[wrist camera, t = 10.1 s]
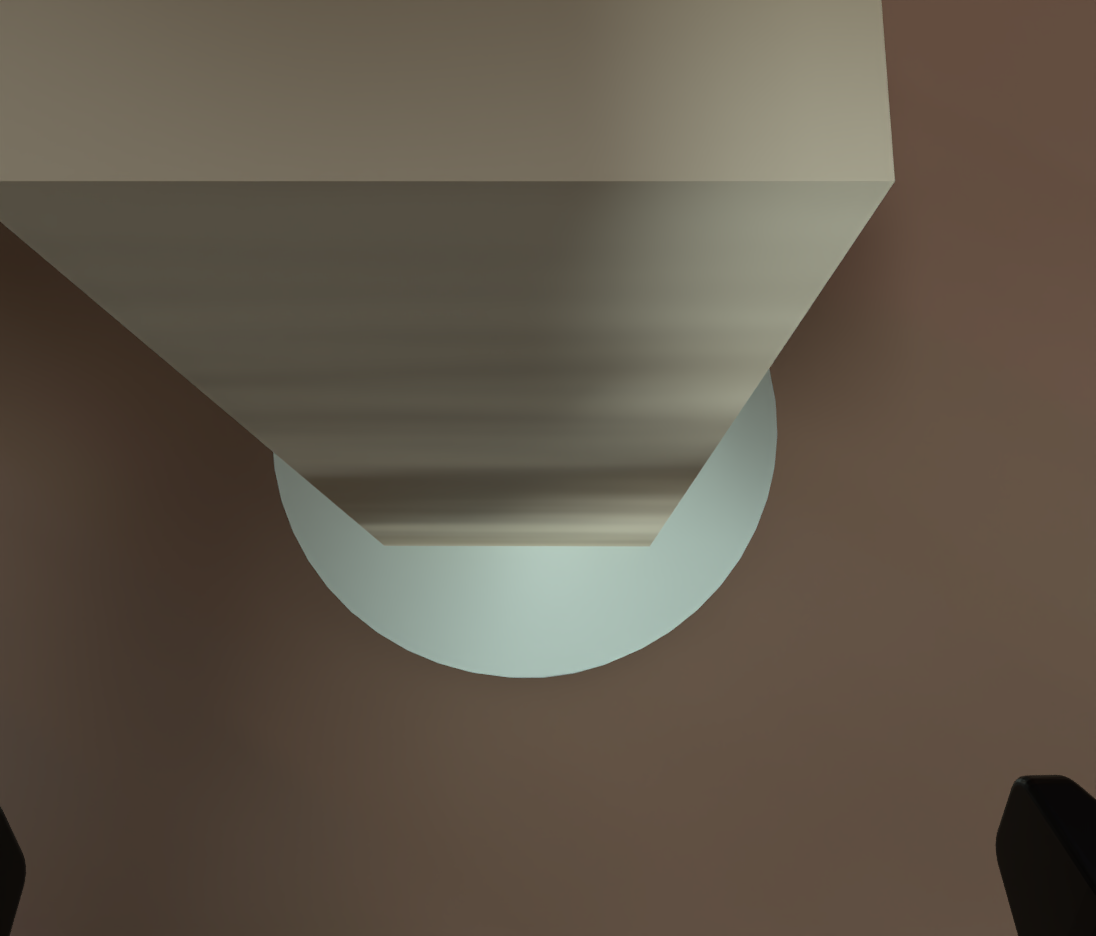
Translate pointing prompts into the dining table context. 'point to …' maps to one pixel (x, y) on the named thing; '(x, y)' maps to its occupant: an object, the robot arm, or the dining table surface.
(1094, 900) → the robot arm
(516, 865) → the dining table surface
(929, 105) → the dining table surface
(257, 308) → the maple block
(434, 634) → the plinth
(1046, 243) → the dining table surface
